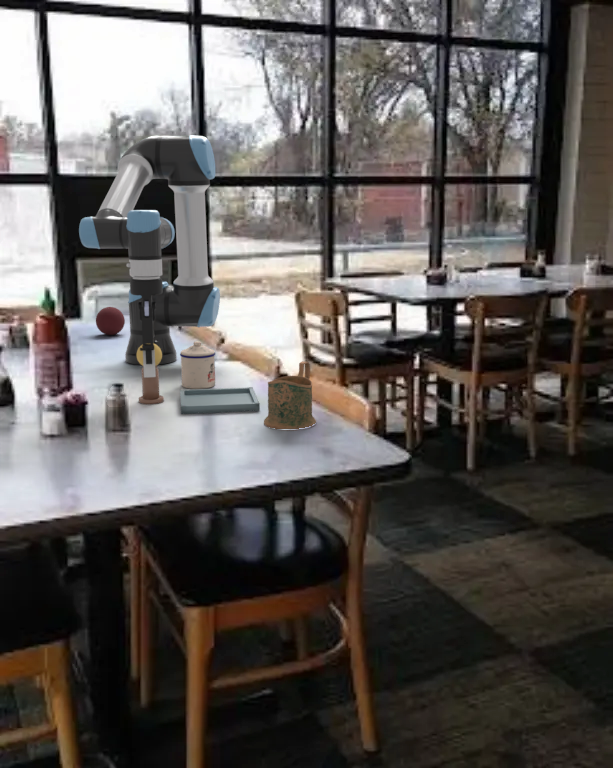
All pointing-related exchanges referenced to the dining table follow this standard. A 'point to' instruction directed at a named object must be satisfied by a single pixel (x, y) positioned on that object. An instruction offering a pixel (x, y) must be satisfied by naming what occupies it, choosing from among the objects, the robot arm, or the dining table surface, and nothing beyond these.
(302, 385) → the brown green vessel
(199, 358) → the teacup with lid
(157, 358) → the ball
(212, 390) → the tray
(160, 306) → the robot arm
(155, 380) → the stand cup
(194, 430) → the dining table surface
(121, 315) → the decorative ball
